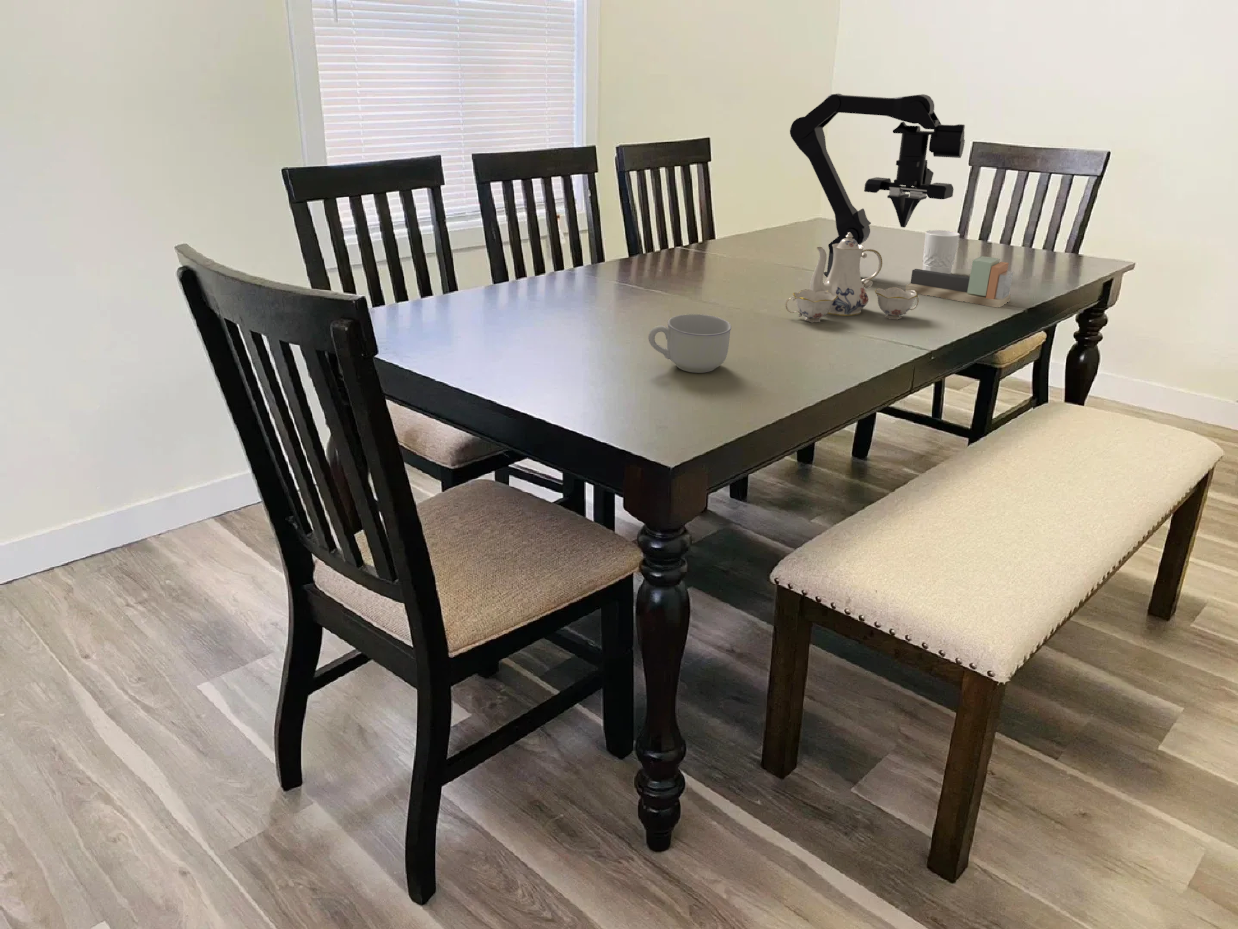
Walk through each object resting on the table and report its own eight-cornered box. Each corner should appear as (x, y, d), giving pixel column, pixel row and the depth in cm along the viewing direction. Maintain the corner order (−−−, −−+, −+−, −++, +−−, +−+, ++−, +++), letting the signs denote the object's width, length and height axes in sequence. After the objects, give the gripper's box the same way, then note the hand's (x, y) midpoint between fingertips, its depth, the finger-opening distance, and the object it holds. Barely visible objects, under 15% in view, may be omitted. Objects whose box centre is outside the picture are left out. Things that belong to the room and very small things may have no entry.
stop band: (985, 297, 198) (991, 266, 195) (995, 292, 203) (1001, 261, 200) (993, 299, 197) (999, 267, 194) (1002, 293, 202) (1008, 262, 199)
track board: (905, 291, 208) (906, 285, 208) (917, 286, 213) (918, 279, 213) (999, 307, 197) (1000, 300, 196) (1009, 301, 202) (1010, 294, 201)
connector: (995, 298, 198) (999, 274, 196) (1002, 294, 201) (1006, 270, 199) (1001, 299, 197) (1006, 275, 195) (1008, 295, 200) (1013, 271, 198)
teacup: (723, 357, 162) (726, 313, 159) (732, 378, 152) (736, 331, 149) (645, 357, 162) (646, 313, 158) (648, 377, 152) (650, 330, 148)
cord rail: (910, 283, 210) (912, 270, 208) (913, 281, 211) (915, 268, 210) (997, 297, 199) (999, 283, 197) (1000, 295, 200) (1002, 282, 199)
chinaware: (800, 336, 181) (812, 254, 172) (766, 306, 194) (776, 228, 186) (925, 328, 188) (943, 248, 179) (884, 299, 201) (899, 224, 193)
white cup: (948, 271, 229) (955, 230, 225) (956, 278, 222) (963, 236, 217) (916, 270, 229) (922, 229, 225) (922, 277, 222) (929, 235, 218)
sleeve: (967, 293, 201) (972, 259, 198) (975, 288, 205) (981, 256, 202) (985, 296, 198) (991, 262, 195) (993, 291, 202) (1000, 258, 199)
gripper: (967, 155, 204) (956, 227, 211) (887, 149, 215) (879, 218, 221) (948, 159, 196) (938, 233, 203) (867, 153, 207) (859, 224, 213)
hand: (903, 227), depth 210 cm, fingers closed
